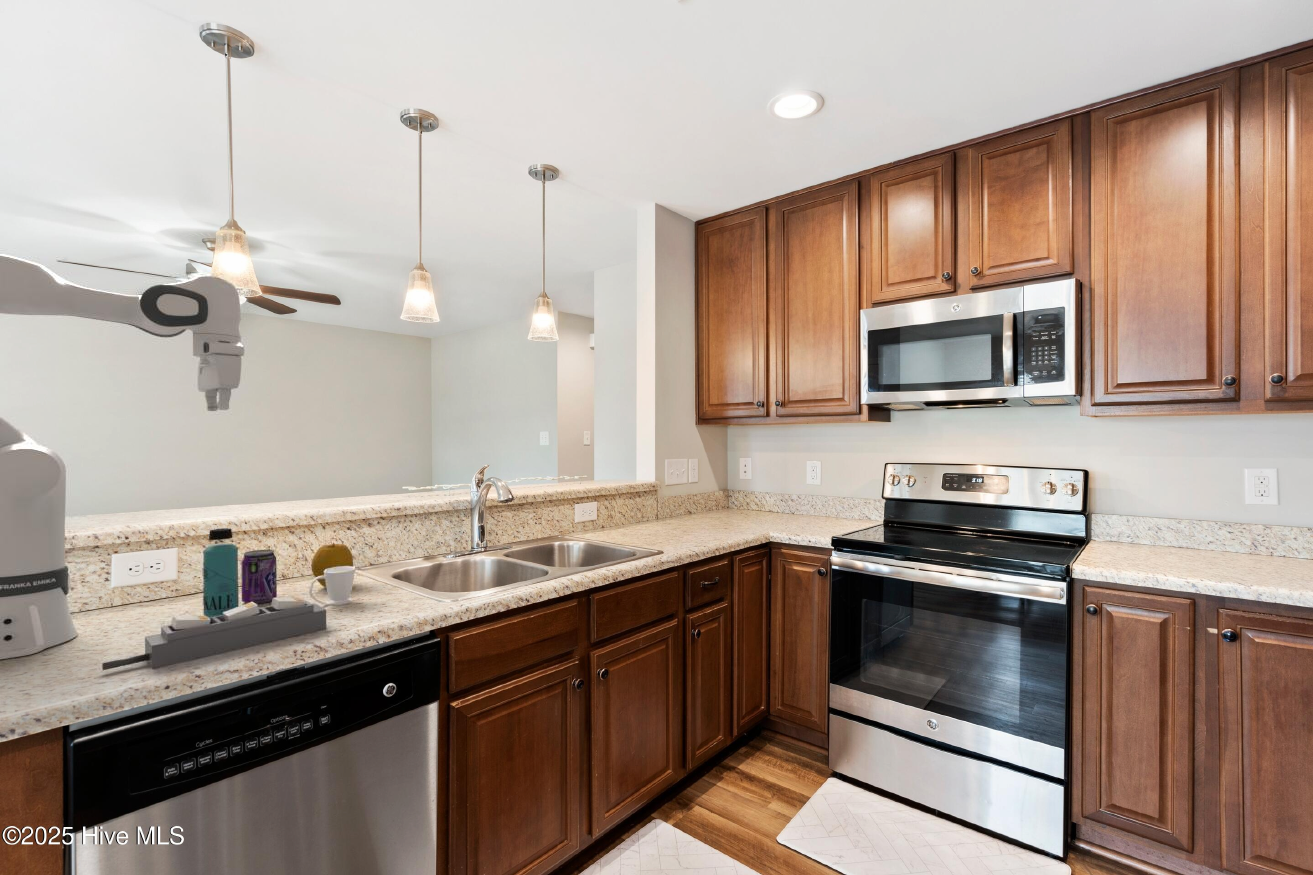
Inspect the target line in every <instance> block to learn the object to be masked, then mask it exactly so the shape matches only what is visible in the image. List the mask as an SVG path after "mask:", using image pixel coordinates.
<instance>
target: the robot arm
mask: <svg viewBox="0 0 1313 875" xmlns="http://www.w3.org/2000/svg"><path fill="white" fill-rule="evenodd" d="M238 291H239V290H238V289H237V288H236V286H235V285H234V284H233V283H231V282H230V281H228V280H227V279H223V278H221V277H218V276H213V275H206V274H201V275H200V274H199V275H197V276H196V277H194V278H191V279H189V280H185V281H181V282H177V283H176V282H175V283H167V284H166V283H165V284H156V285H152V286H150V287H148V288H147V289H146V290H144V292H143V293H142V294H139V295H128V294H122V293H118V292H117V293H116V292H110V291H105V290H99V289H94V288H88V287H83V286H80V285H77V284H75V283H72V282H69V281H67V280H65V279H64V278H62V277H60V276H58V275H57V274H55V273H54V272H52V271H51V270H50V269H48V268H46V267H45V266H44V265H41V264H39V263H36V262H32V261H29V260H26V259H22V258H20V257H15V256H11V255H7V254H2V253H0V314H4V315H19V316H20V315H21V316H22V315H23V316H65V317H79V318H84V319H91V320H99V321H105V322H112V323H118V324H119V323H120V324H125V325H129V326H132V327H135V328H137V329H139V330H140V331H143V332H145V333H147V334H149V335H152V336H155V337H160V338H175V337H177V336H180V335H182V334H183V333H184V332H186V331H187V330H189V331H192V355H193V356H194V357H197V358H199V359H200V360H199V362H198V368H197V390H198V392H202V393H204V398H205V402H206V410H207V411H208V412H217V411H218V410H220V411H227V410H229V409H230V400H231V397H232V390H234V389H238V388H239V385H240V383H241V373H242V357H243V356H245V347H244V345H242V343H241V342H242V336H241V333H240V330H239V326H240V323H241V320H242V319H241V313H242V312H241V303H240V296H239V292H238ZM217 398H218V399H217ZM66 469H67V468H66V464H65V463H64V461H63V459H62V457H61V456H60V455H59V454H58V453H57V452H55V451H54V450H52V449H50V448H49V447H47V446H45V445H43V444H42V443H40V442H39V441H38V440H36V439H35V438H33V437H32V436H30V435H28V434H27V433H26V432H24V431H23V430H21V429H20V428H18V427H17V426H15V425H13V424H12V423H10V422H9V421H7V420H6V419H4V418H3V417H2V416H0V660H4V659H5V660H6V659H10V658H11V659H12V658H17V657H24V656H30V655H34V654H36V653H38V652H41V651H43V650H45V649H47V648H51V647H54V646H57V645H60V644H63V643H66V642H68V641H70V640H72V639H74V638H75V637H77V636H78V631H77V629H76V627H75V624H74V621H73V618H72V614H71V611H70V604H69V600H68V594H69V592H70V591H69V590H70V571H69V567H68V565H66V533H65V532H66V530H65V529H66V528H65V527H66V526H65V525H66V498H67V497H66V491H67V490H66V488H67V487H66V485H67V483H66V482H67V480H66V478H67V470H66Z"/></svg>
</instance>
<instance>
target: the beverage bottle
mask: <svg viewBox="0 0 1313 875" xmlns="http://www.w3.org/2000/svg"><path fill="white" fill-rule="evenodd" d="M232 538H233V532H232V528H225V527H224V528H222V527H221V528H215V529H210V531H209V535H208V540H209V541H221V540H222V541H223V540H228V539H232ZM202 553H203V558H202V559H203V562H202V566H203V567H202V581H203V583H202V585H203V588H202V592H203V593H202V601H203V602H202V605H203V609H202V613H203V616H207V617H208V618H209V617H214V616H220V615H223V612H225V611H228V610H231V609H234V608H236V607H239V606H240V603H239V602H240V598H239V590H240V589H239V548H238V546H237V545H235V544H234V543H233V542H220V543H214V544H210V545H208V546H206V547H205V549H204V550H203V551H202Z"/></svg>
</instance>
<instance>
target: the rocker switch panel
mask: <svg viewBox="0 0 1313 875" xmlns="http://www.w3.org/2000/svg"><path fill="white" fill-rule="evenodd" d="M303 600H304V601H306V602H305V606H301V607H296V608H290V609H275V608H273V607H272V606H271V605H269V606H268V605H267V606H262V607H258V608H259V612H260V613H258V614H255V615H252V616H250V617H245V618H240V619H235V620H230V621H225V619H224V615H220V616H214V617H209V619H211V620H210V624H209V625H204V626H199V627H194V628H189V629H174V628H173V627H172V626H171V624H168V625H163V626H160V633H156V634H152V635H146V636H144V653H143V654H140V655H135V656H129V657H125V658H120V659H116V660H111V661H106V662H102V664H101V668H102V671H107V670H112V669H116V668H121V667H124V666H130V665H133V664H140V663H143V662H147V663H148V665H149V667H151V669H152V670H154V669H157V668H161V667H165V666H170V665H176V664H178V663H183V662H188V661H193V660H197V659H201V658H205V657H210V656H214V655H218V654H219V655H220V654H223V653H227V652H230V651H235V650H240V649H241V650H242V649H244V648H249V647H252V646H253V647H254V646H257V645H262V644H265V643H271V642H275V641H279V640H284V639H288V638H292V637H296V636H300V635H301V636H302V635H307V634H310V633H315V632H318V631H319V632H320V631H323V630H327V609H325V608H324V607H322V606H320V605H318V604H316V603H311V602H309V601H308V600H305V599H303Z"/></svg>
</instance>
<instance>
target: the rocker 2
mask: <svg viewBox="0 0 1313 875" xmlns="http://www.w3.org/2000/svg"><path fill="white" fill-rule="evenodd" d="M259 608H260V607H259V604H255V603H254V602H250V603H244V604H242V605H239V607H236V608H234V609H231V610H228V611H225V612H223V615H224V619H225V621H230V620H235V619H240V618H245V617H250V616H252V615H255V614H258V613H260V612H259Z"/></svg>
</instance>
